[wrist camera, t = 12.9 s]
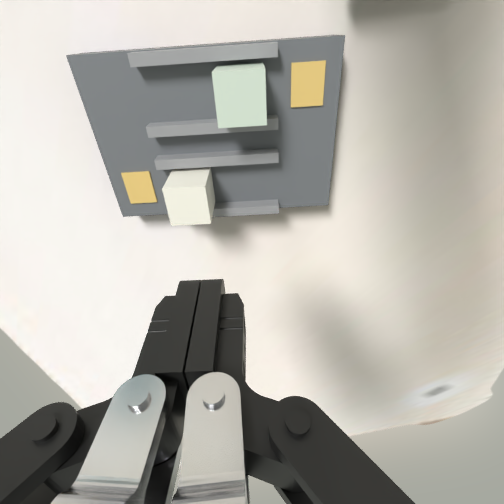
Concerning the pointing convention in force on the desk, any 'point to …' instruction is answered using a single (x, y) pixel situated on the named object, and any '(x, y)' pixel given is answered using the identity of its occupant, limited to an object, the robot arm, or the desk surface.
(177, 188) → the cream tab
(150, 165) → the switch panel
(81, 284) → the desk surface
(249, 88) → the pale green block
